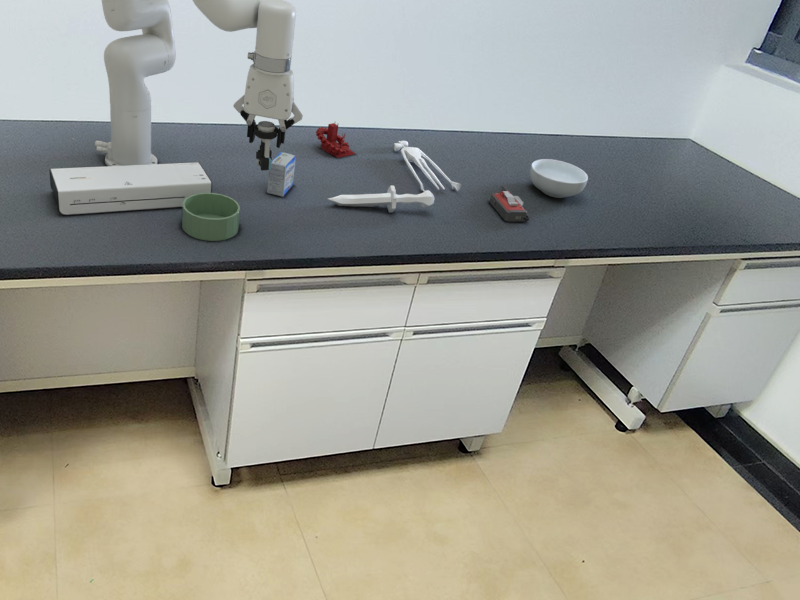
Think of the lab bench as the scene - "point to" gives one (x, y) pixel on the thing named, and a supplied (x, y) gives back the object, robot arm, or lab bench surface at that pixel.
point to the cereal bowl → (557, 178)
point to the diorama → (333, 141)
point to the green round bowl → (210, 216)
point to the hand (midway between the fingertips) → (265, 142)
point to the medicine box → (281, 174)
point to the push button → (265, 143)
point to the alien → (420, 163)
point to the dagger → (384, 199)
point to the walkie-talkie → (509, 206)
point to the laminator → (126, 187)
